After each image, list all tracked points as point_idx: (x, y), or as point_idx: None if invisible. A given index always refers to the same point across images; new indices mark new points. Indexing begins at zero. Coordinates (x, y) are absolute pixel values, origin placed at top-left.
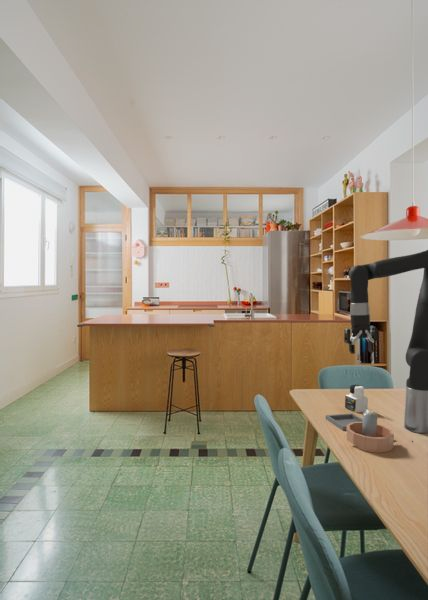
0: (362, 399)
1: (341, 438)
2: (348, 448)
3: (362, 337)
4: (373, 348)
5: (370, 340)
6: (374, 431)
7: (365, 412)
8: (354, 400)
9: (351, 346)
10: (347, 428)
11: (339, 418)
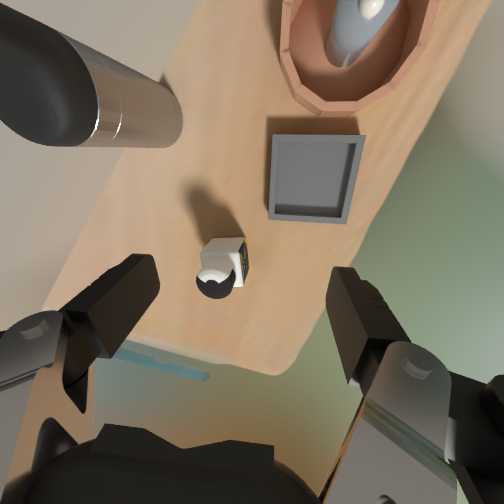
0: (217, 251)
1: (394, 97)
2: (439, 10)
3: (181, 457)
4: (105, 274)
5: (57, 349)
6: None
7: (379, 12)
8: (240, 253)
9: (399, 331)
10: (419, 53)
11: (309, 213)
